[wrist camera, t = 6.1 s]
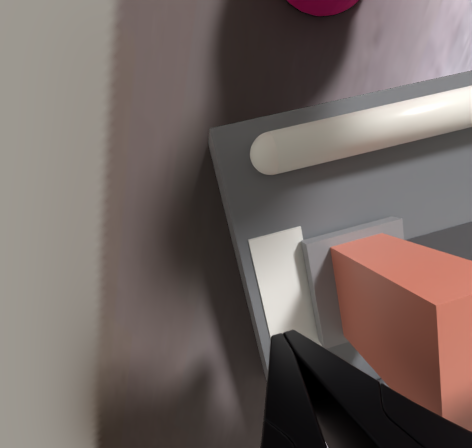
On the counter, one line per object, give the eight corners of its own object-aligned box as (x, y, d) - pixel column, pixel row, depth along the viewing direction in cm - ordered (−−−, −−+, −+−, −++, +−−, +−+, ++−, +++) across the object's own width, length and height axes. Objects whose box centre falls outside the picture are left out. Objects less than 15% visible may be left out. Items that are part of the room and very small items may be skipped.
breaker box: (493, 78, 15) (662, 20, 9) (493, 307, 18) (617, 362, 13) (207, 142, 13) (210, 118, 8) (265, 378, 17) (295, 475, 11)
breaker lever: (391, 216, 11) (563, 251, 6) (401, 315, 12) (552, 421, 7) (300, 240, 11) (394, 302, 5) (318, 340, 12) (411, 472, 6)
